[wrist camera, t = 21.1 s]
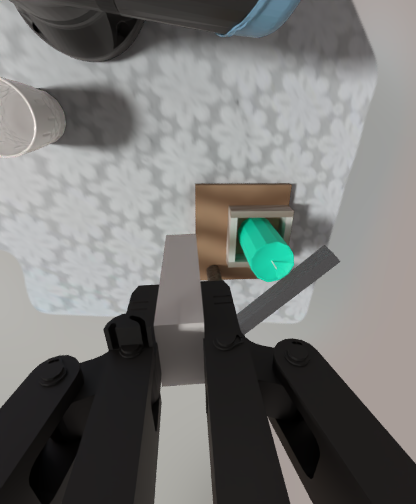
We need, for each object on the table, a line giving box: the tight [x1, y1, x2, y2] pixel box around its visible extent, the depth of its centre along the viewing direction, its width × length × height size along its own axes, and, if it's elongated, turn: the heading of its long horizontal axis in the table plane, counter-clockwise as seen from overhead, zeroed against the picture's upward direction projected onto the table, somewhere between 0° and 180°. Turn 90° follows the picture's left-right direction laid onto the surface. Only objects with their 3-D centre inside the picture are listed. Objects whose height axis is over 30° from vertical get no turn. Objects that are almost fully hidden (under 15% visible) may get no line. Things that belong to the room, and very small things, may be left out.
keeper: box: [206, 245, 340, 335], centre depth 39 cm, size 18×4×19 cm, turn 134°
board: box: [195, 183, 294, 280], centre depth 46 cm, size 17×15×4 cm
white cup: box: [0, 77, 66, 158], centre depth 33 cm, size 8×8×10 cm
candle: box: [238, 218, 294, 282], centre depth 41 cm, size 6×6×12 cm
